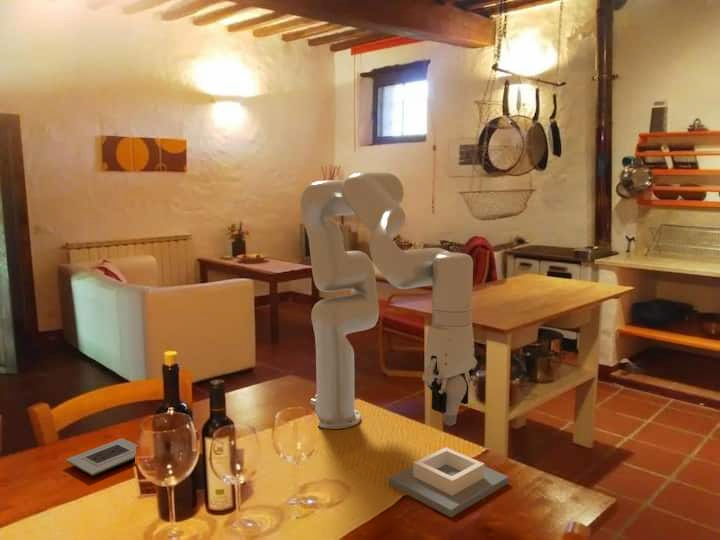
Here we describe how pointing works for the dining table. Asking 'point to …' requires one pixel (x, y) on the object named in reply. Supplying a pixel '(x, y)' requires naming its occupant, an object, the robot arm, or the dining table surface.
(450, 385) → the lightbulb
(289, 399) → the dining table surface
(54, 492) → the dining table surface
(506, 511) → the dining table surface
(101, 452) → the electrical outlet
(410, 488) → the lamp base
